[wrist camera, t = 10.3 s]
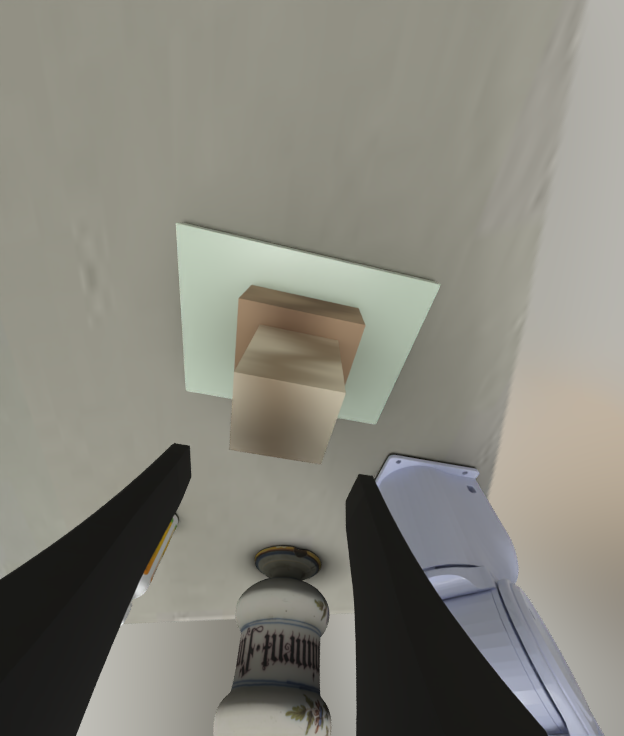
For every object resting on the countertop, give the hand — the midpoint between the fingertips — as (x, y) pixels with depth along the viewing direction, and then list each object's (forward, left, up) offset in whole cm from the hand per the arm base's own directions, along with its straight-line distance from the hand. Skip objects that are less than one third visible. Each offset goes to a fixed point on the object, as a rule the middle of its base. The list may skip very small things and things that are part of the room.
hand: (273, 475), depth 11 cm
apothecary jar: (-5, +34, -11) cm, 36 cm away
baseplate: (0, -2, -10) cm, 11 cm away
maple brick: (0, -2, -6) cm, 7 cm away
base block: (0, -2, -10) cm, 11 cm away
